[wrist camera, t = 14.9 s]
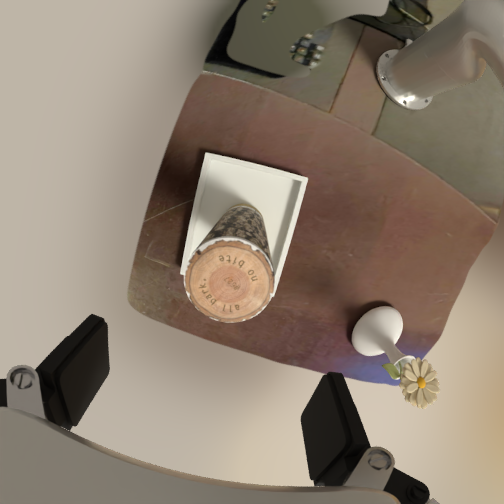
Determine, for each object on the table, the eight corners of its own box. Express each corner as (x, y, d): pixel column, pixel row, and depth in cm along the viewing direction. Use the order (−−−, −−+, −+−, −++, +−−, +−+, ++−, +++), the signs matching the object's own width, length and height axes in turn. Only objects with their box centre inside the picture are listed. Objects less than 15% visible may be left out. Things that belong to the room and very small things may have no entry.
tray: (208, 153, 42) (205, 152, 39) (305, 178, 43) (308, 178, 40) (183, 269, 47) (180, 273, 45) (272, 290, 48) (273, 296, 46)
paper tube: (242, 252, 46) (229, 337, 21) (213, 223, 44) (166, 280, 20) (272, 224, 44) (294, 283, 20) (243, 194, 43) (228, 217, 19)
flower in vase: (407, 320, 50) (472, 394, 26) (371, 358, 52) (417, 443, 28) (372, 287, 48) (445, 366, 24) (332, 330, 50) (375, 428, 26)
